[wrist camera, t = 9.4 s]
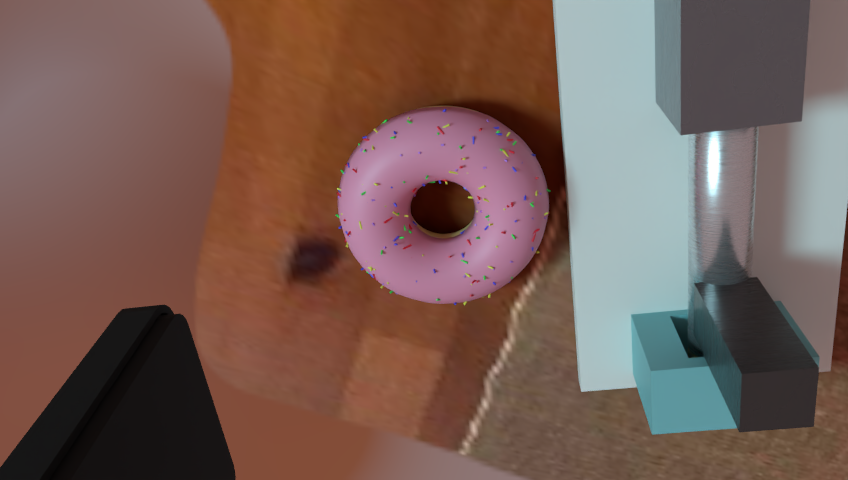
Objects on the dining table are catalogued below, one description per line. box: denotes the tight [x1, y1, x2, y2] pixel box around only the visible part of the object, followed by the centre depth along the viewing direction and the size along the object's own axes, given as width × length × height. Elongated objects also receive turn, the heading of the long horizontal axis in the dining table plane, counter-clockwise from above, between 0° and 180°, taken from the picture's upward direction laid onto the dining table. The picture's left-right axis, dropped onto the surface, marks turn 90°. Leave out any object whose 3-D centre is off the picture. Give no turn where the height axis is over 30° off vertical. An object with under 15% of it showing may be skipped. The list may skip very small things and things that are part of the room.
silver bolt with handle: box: [687, 126, 819, 432], centre depth 34 cm, size 19×3×10 cm, turn 8°
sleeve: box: [654, 0, 810, 135], centre depth 34 cm, size 9×5×5 cm, turn 8°
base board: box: [553, 0, 848, 392], centre depth 39 cm, size 30×14×1 cm, turn 8°
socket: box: [631, 301, 820, 434], centre depth 41 cm, size 4×8×5 cm, turn 98°
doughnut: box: [336, 106, 551, 305], centre depth 40 cm, size 11×11×4 cm
